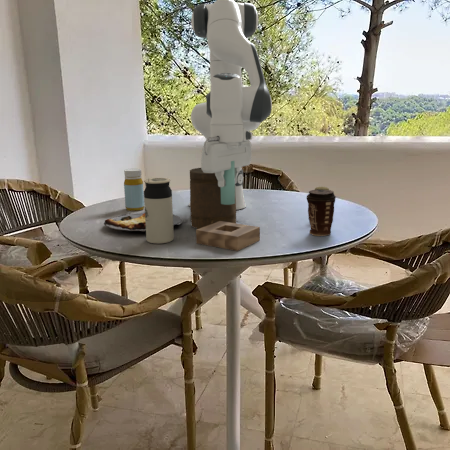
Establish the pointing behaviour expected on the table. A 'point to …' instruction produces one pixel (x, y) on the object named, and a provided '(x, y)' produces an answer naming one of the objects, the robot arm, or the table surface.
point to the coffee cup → (320, 211)
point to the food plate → (132, 222)
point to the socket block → (228, 235)
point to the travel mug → (158, 210)
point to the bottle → (133, 190)
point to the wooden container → (208, 200)
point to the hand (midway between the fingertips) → (227, 185)
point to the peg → (229, 186)
